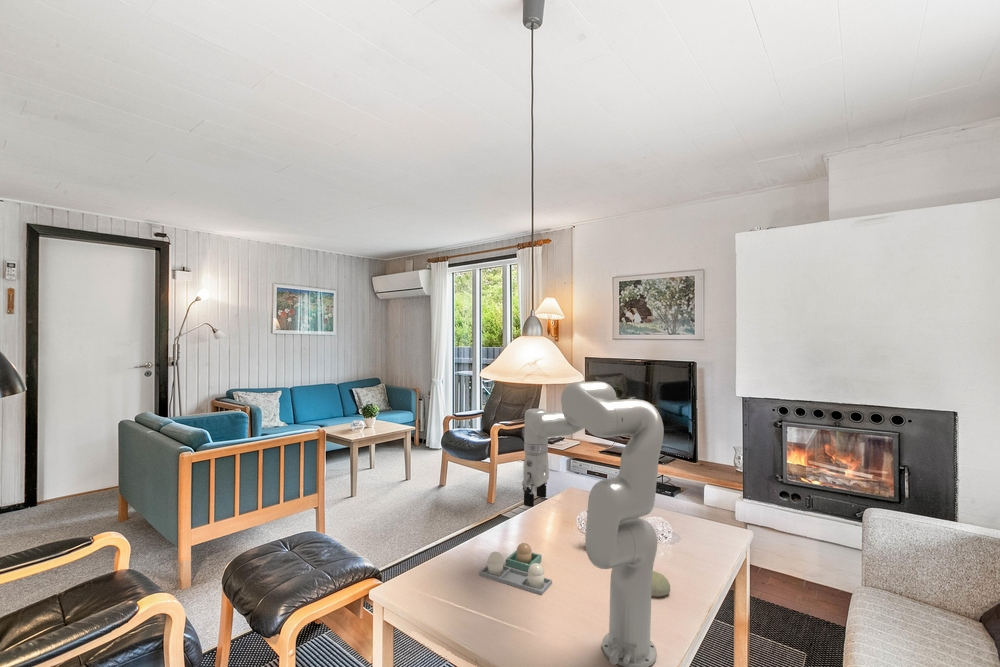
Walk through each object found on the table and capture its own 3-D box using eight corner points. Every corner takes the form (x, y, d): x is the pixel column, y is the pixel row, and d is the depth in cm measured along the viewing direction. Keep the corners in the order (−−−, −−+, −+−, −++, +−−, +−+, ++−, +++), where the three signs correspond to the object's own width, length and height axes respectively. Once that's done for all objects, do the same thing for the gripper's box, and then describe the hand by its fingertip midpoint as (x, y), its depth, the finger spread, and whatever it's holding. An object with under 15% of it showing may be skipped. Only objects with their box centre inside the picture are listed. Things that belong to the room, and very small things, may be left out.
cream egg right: (539, 591, 139) (540, 569, 139) (524, 587, 141) (525, 565, 141) (546, 583, 143) (546, 562, 143) (531, 579, 146) (532, 558, 146)
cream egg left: (498, 578, 146) (498, 557, 146) (484, 574, 148) (485, 553, 148) (505, 571, 150) (506, 551, 150) (492, 567, 152) (492, 547, 152)
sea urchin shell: (651, 596, 136) (640, 566, 141) (639, 604, 141) (630, 575, 146) (679, 592, 138) (667, 563, 143) (666, 600, 144) (656, 572, 149)
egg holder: (530, 574, 150) (530, 566, 150) (505, 567, 154) (505, 559, 154) (541, 562, 157) (541, 555, 157) (518, 556, 161) (518, 548, 161)
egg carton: (541, 596, 137) (542, 591, 137) (478, 576, 148) (479, 571, 148) (552, 584, 144) (552, 579, 144) (491, 566, 154) (491, 561, 154)
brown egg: (527, 568, 152) (527, 548, 152) (513, 564, 154) (514, 544, 154) (533, 562, 156) (534, 542, 156) (520, 558, 159) (521, 539, 159)
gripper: (535, 455, 144) (534, 512, 144) (556, 444, 159) (556, 495, 159) (513, 452, 148) (512, 507, 148) (536, 441, 163) (535, 491, 163)
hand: (535, 501), depth 154 cm, fingers open, 9 cm apart
